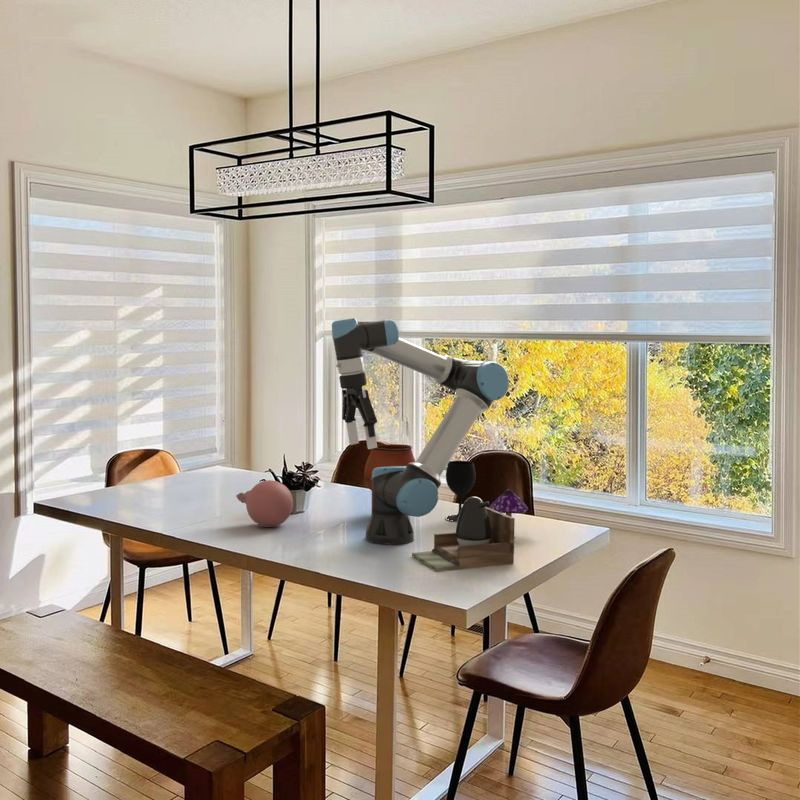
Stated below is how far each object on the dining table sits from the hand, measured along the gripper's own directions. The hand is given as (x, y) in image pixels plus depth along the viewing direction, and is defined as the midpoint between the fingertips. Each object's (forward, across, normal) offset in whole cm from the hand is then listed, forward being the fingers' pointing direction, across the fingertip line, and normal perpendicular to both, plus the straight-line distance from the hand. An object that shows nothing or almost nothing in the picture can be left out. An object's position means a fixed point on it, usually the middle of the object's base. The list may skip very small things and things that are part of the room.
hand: (363, 446), depth 244 cm
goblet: (+35, -48, +25) cm, 64 cm away
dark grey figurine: (+34, +14, +23) cm, 43 cm away
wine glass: (+39, -34, +45) cm, 68 cm away
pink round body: (+28, -49, -20) cm, 60 cm away
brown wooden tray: (+36, +14, +19) cm, 43 cm away
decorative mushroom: (+40, -6, +47) cm, 63 cm away
